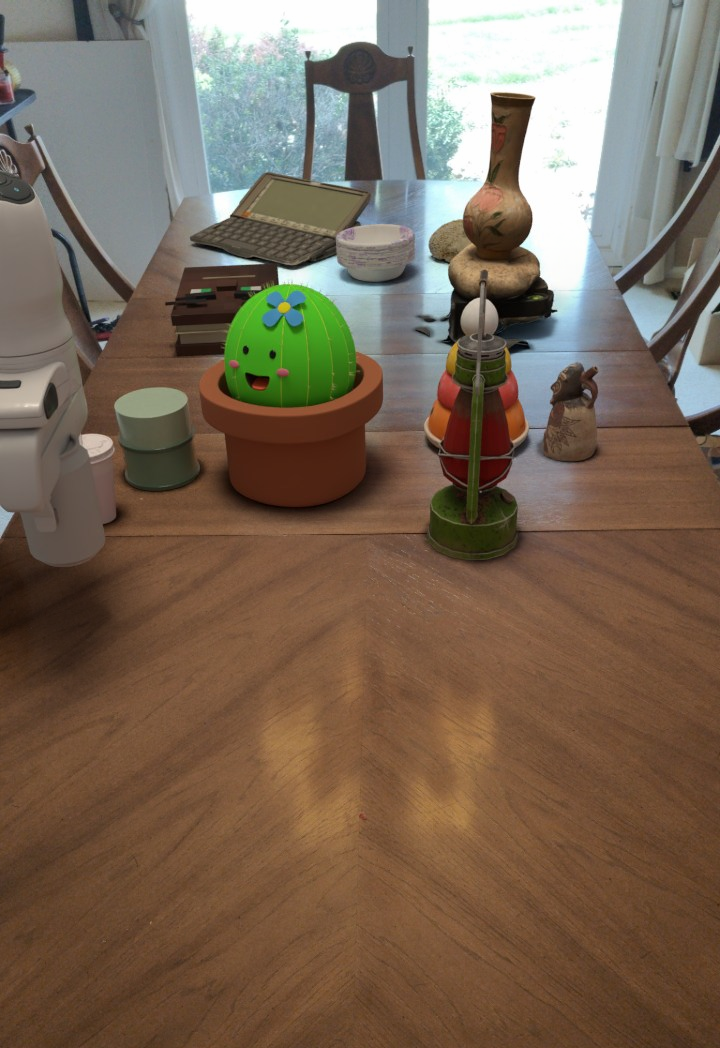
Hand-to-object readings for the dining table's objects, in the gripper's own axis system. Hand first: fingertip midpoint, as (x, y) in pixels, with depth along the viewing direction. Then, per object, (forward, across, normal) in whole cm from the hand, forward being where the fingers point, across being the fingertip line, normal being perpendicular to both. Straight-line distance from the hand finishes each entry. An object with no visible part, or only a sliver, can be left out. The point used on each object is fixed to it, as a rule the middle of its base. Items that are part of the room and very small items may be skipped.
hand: (59, 505), depth 96 cm
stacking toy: (+13, -39, +46) cm, 61 cm away
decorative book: (+14, -86, +8) cm, 87 cm away
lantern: (+13, -14, +43) cm, 47 cm away
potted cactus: (+13, -30, +22) cm, 39 cm away
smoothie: (+14, -21, -2) cm, 25 cm away
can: (+6, 0, 0) cm, 6 cm away
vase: (+13, -82, +52) cm, 98 cm away
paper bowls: (+13, -112, +34) cm, 118 cm away
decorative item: (+13, -121, +50) cm, 132 cm away
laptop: (+14, -136, +13) cm, 137 cm away
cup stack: (+14, -32, +4) cm, 35 cm away
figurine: (+13, -35, +58) cm, 69 cm away
